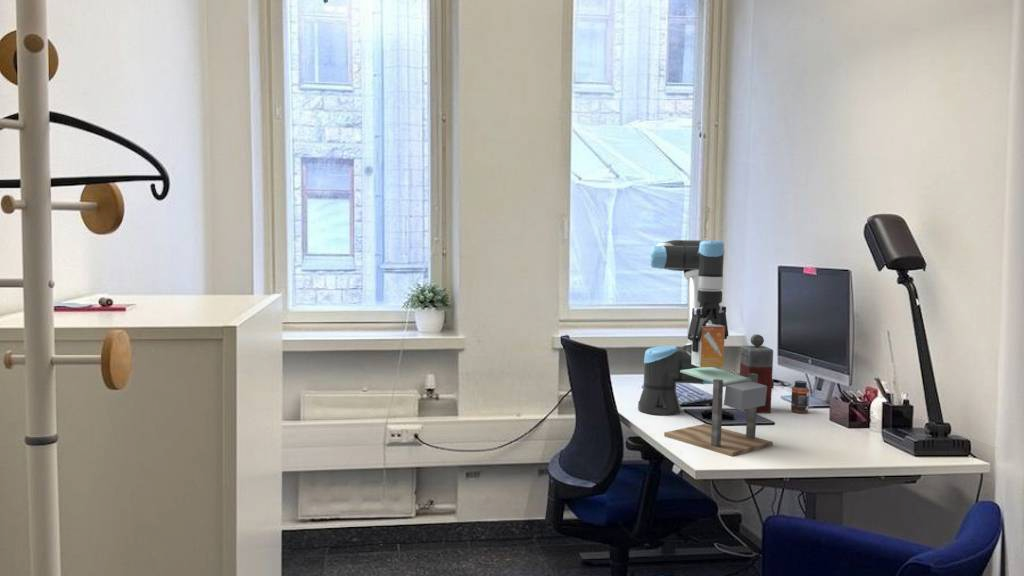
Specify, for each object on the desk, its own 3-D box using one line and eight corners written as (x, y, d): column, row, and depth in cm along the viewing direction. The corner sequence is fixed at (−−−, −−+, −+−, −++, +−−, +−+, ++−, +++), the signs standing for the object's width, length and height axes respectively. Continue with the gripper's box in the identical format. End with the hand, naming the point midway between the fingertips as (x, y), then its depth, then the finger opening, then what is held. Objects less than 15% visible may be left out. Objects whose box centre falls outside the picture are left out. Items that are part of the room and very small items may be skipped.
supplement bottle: (811, 413, 277) (813, 382, 276) (798, 414, 275) (799, 383, 275) (800, 409, 283) (802, 379, 282) (787, 410, 281) (788, 380, 280)
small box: (700, 368, 237) (701, 326, 236) (690, 364, 243) (692, 323, 242) (723, 367, 239) (725, 325, 238) (713, 363, 245) (715, 323, 244)
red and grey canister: (759, 405, 288) (762, 332, 286) (771, 413, 277) (774, 336, 275) (736, 405, 287) (738, 332, 285) (746, 413, 276) (749, 336, 274)
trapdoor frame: (705, 427, 255) (707, 364, 253) (772, 445, 234) (775, 377, 233) (664, 436, 243) (666, 370, 241) (731, 456, 222) (734, 384, 221)
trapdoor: (706, 385, 250) (708, 365, 249) (767, 404, 232) (769, 383, 231) (678, 390, 242) (680, 369, 241) (738, 410, 224) (740, 388, 223)
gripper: (722, 287, 249) (720, 355, 251) (676, 290, 235) (674, 362, 237) (742, 289, 243) (739, 359, 245) (696, 292, 229) (693, 365, 231)
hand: (707, 360), depth 241 cm, fingers closed on small box, 10 cm apart
